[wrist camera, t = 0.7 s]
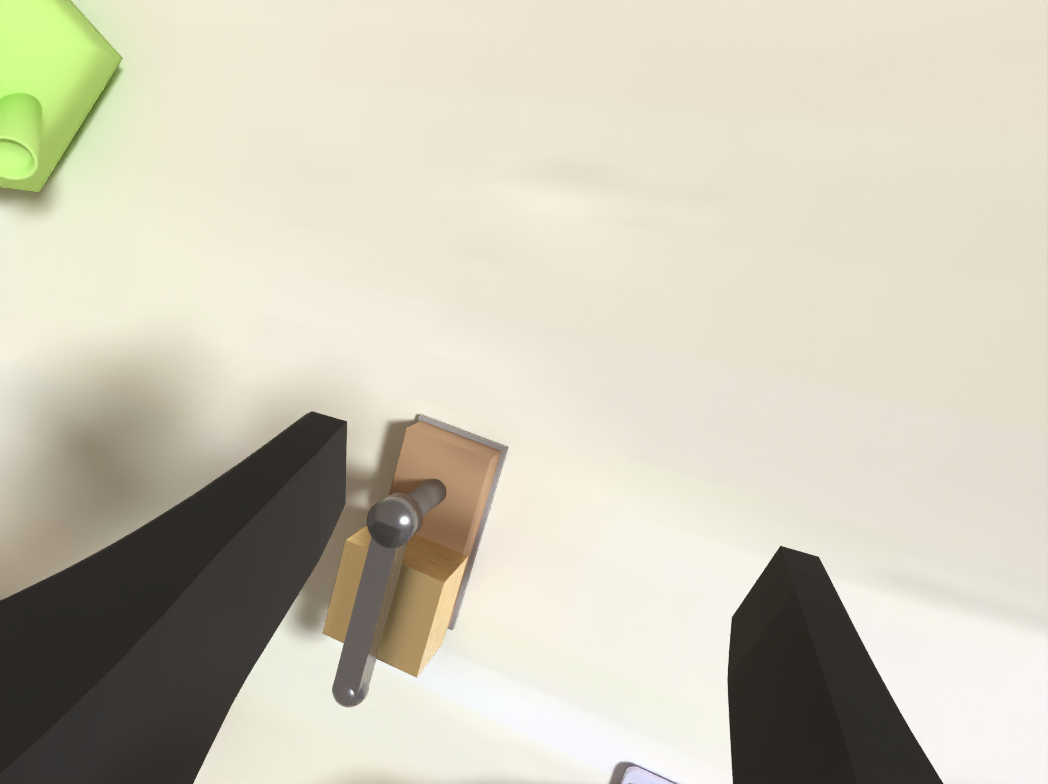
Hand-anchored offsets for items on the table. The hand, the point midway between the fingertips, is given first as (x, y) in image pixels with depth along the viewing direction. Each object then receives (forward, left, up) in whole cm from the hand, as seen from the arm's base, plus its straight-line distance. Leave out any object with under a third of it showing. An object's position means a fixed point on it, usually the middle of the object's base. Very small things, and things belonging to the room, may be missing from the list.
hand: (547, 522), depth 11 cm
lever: (-13, +8, -15) cm, 21 cm away
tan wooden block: (-14, +8, -19) cm, 24 cm away
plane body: (-11, +8, -21) cm, 25 cm away
